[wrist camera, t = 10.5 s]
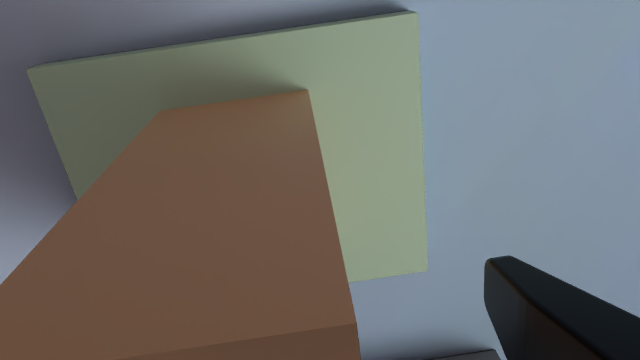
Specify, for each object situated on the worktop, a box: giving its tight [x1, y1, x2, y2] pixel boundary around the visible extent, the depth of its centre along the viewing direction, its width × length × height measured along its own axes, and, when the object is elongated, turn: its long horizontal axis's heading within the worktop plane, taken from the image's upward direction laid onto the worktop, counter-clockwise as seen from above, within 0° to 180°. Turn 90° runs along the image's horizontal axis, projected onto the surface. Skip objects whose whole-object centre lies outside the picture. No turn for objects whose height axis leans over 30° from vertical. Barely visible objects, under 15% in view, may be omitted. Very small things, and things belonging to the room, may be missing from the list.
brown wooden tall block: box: [0, 90, 361, 360], centre depth 9 cm, size 4×5×9 cm
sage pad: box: [26, 10, 428, 283], centre depth 14 cm, size 10×8×1 cm
